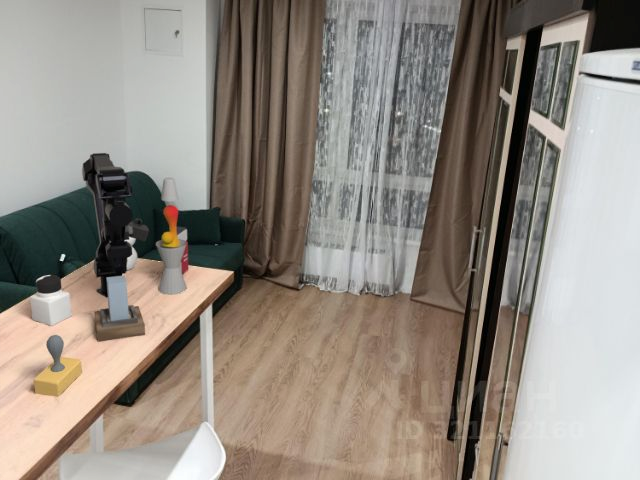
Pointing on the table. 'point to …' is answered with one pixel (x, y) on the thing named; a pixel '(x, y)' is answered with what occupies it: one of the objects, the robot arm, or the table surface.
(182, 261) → the red and white box
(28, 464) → the table surface
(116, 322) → the walnut plinth
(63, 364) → the rubber stamp
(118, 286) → the slate post
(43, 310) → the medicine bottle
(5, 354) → the table surface
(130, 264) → the cat figurine
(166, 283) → the lava lamp
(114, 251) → the robot arm
